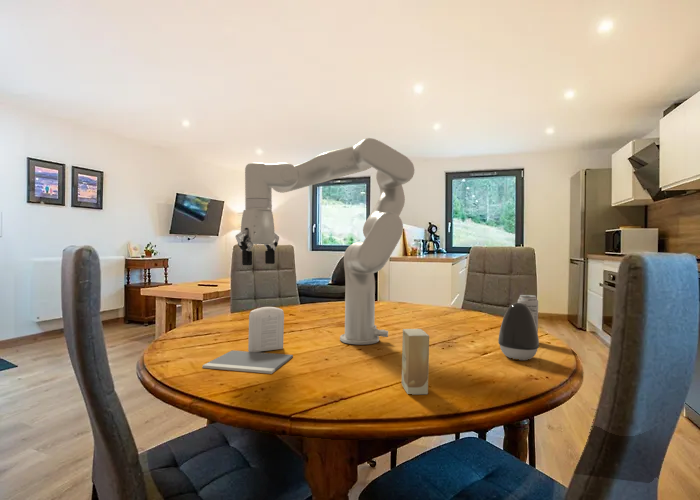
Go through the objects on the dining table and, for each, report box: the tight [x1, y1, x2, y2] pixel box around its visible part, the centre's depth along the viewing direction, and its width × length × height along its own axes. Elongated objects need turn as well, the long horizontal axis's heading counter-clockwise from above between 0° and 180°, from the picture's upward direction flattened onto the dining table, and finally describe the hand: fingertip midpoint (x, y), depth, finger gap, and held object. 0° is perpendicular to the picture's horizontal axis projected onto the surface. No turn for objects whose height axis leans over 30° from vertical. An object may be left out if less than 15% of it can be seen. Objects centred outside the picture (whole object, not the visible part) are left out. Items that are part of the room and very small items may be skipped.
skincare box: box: [401, 328, 430, 395], centre depth 80 cm, size 6×4×12 cm
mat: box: [202, 350, 294, 375], centre depth 97 cm, size 18×14×1 cm
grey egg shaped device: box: [497, 302, 540, 361], centre depth 104 cm, size 10×10×15 cm
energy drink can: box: [517, 294, 539, 334], centre depth 122 cm, size 6×6×15 cm
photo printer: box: [247, 306, 285, 353], centre depth 109 cm, size 10×4×12 cm, turn 123°
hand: (259, 264), depth 111 cm, fingers open, 9 cm apart
